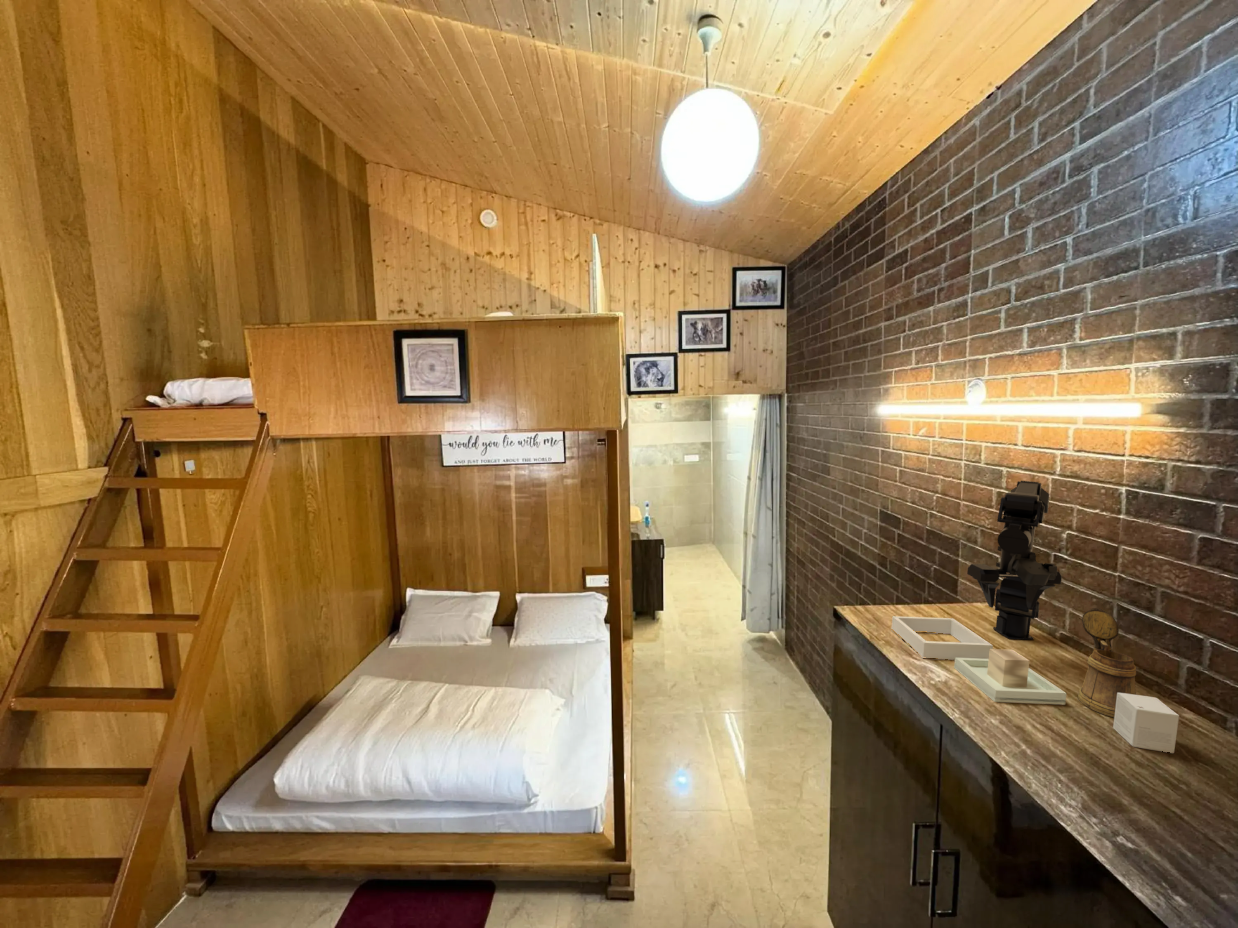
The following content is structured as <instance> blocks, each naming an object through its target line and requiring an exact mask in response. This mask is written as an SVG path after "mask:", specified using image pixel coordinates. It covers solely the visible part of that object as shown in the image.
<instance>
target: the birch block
mask: <svg viewBox="0 0 1238 928" xmlns="http://www.w3.org/2000/svg"><path fill="white" fill-rule="evenodd" d="M1029 668H1030V659H1028V658H1026V657H1025V656H1023V655H1022V654H1020V653H1018V652H1017V651H1016V650H1014V649H1005V648H1003V649H1001V648H993V649H990V650H989V660H988V670H987V675H989V676H990V677H991V678H992V679H994V680H995V681H996V682H998V683H999V684H1000V685H1001V686H1008V687H1027V679H1028V669H1029Z"/></svg>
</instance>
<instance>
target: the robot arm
mask: <svg viewBox="0 0 1238 928" xmlns="http://www.w3.org/2000/svg"><path fill="white" fill-rule="evenodd" d="M1049 506H1050V494H1049V492H1048V491H1046V490H1045V489H1044V488H1042V483H1041V482H1039V481H1031V480H1030V481H1028V480H1020V481H1019V480H1018V481H1017V482H1016V486H1015V487H1014V488H1012V489H1010V491H1008V492H1006V493H1005V494H1004V496H1002V497H1001V500H1000V504H999V510H998V514H997V515H998V516H997V520H996V522H997V523H1004V524H1003V529H1002V530H1001V532H999V534H998V536H997V544H998V545H997V551H999V552H1000V559H999V562H998V561H997V562H996V563H995V567H997V568H994V567H993V566H989V565H988V564H985V563H983V564H981V563H971V564H969V565H968V567H967V575H968V576H970V577H971V578H972V579H974V580H976V581H977V583H978V584H979V586H980V588H981V591H982V594H983V595H984V598H985V600H986V603H987V606H988V607H989V608H994V611H996V612H997V611H998V615H997V616H996V623H995V626H993V627H992V629H993V630H994V631H996V632H997V633H998V634H1000V635H1002V636H1003V637H1005V638H1007V639H1009V640H1029V641H1030V640H1031V641H1032V640H1033V641H1034V636H1031V635H1030V629H1031V619H1032V620H1034V619H1038V618H1039V614H1040V613H1039V612H1040V601H1038V600H1039V599H1040V597H1041V596H1042V595H1043V593H1044V592H1045V591H1046V590H1047V589H1049V588H1050V589H1051V588H1054V587H1056V585H1062V582H1063V581H1062V580H1063V576H1062V574H1061V573H1060V571H1058V566H1057V565H1056V564H1055V563H1053V562H1052V563H1050V562H1049V563H1046V562H1045V563H1043V562H1037V559H1036V557H1037V556H1036V552H1033V547H1034V540H1035V533H1036V532H1035V531H1036V528H1038V527H1039V525H1041V524H1043V521H1044V520H1045V514H1049V509H1048V508H1049ZM1000 578H1003V579H1002V580H1001V581H1000V583H999V582H997V581H999V580H1000ZM999 585H1000V586H999ZM998 587H999V588H998Z"/></svg>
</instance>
